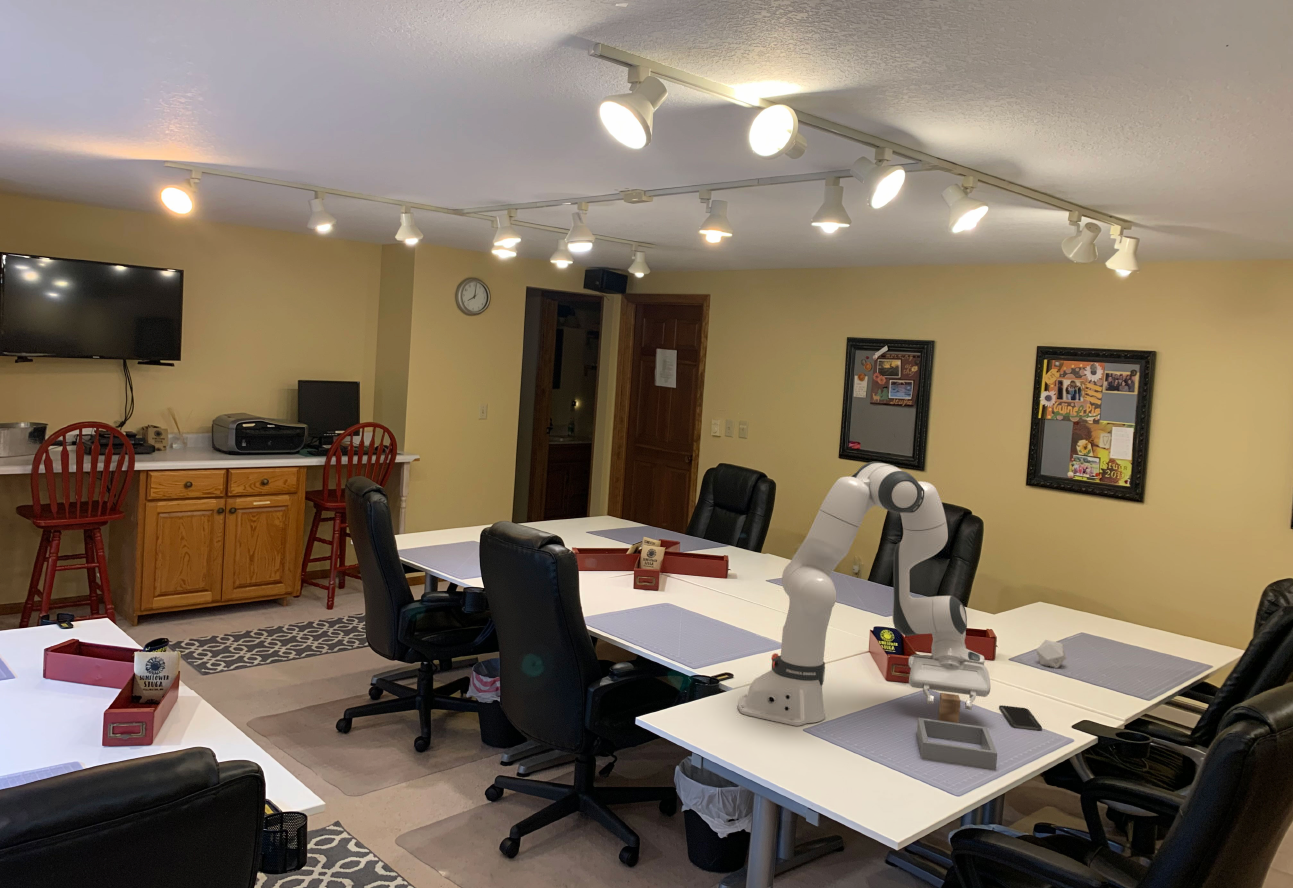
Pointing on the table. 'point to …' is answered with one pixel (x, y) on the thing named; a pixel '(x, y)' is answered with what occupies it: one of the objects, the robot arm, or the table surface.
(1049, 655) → the die
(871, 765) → the table surface
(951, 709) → the walnut block
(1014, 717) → the phone
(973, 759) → the box
